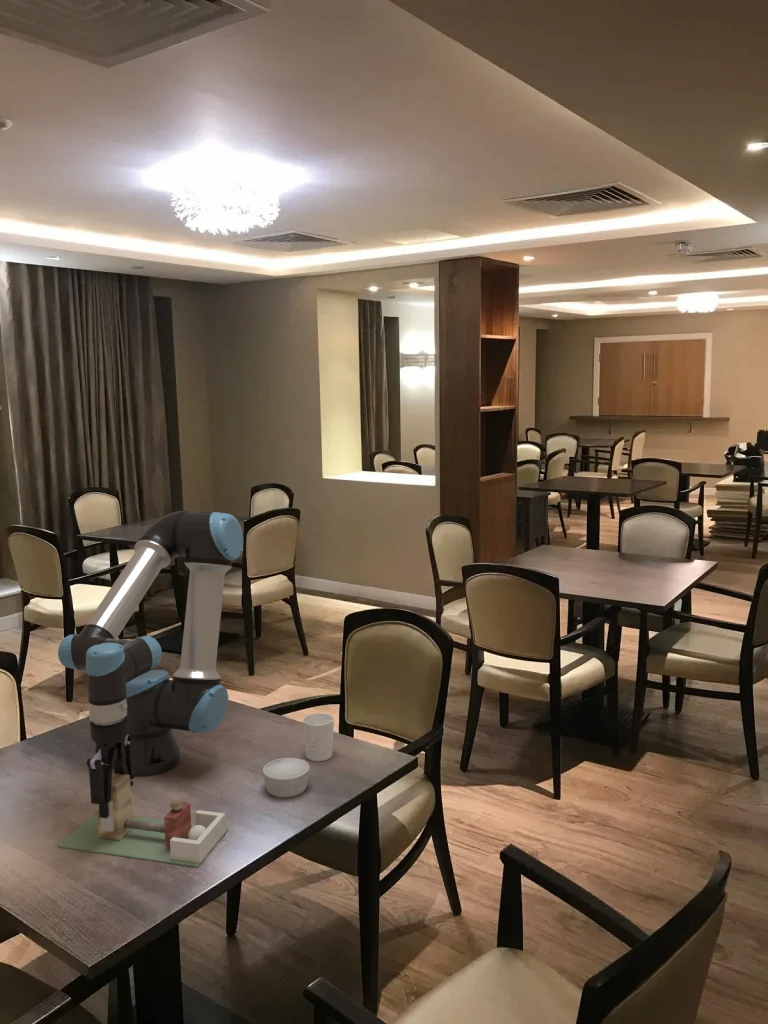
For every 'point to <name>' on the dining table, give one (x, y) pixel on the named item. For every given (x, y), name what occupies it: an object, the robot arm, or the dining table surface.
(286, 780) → the ramekin
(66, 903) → the dining table surface
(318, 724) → the white cup
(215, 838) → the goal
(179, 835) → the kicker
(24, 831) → the dining table surface
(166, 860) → the pitch
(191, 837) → the ball
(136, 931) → the dining table surface
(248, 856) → the dining table surface
